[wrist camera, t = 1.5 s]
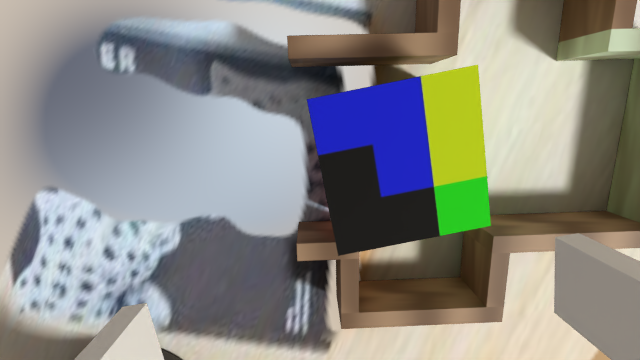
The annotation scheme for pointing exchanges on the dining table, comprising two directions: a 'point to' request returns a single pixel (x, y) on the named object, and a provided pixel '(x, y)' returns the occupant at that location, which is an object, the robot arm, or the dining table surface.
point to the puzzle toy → (403, 159)
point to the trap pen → (506, 230)
